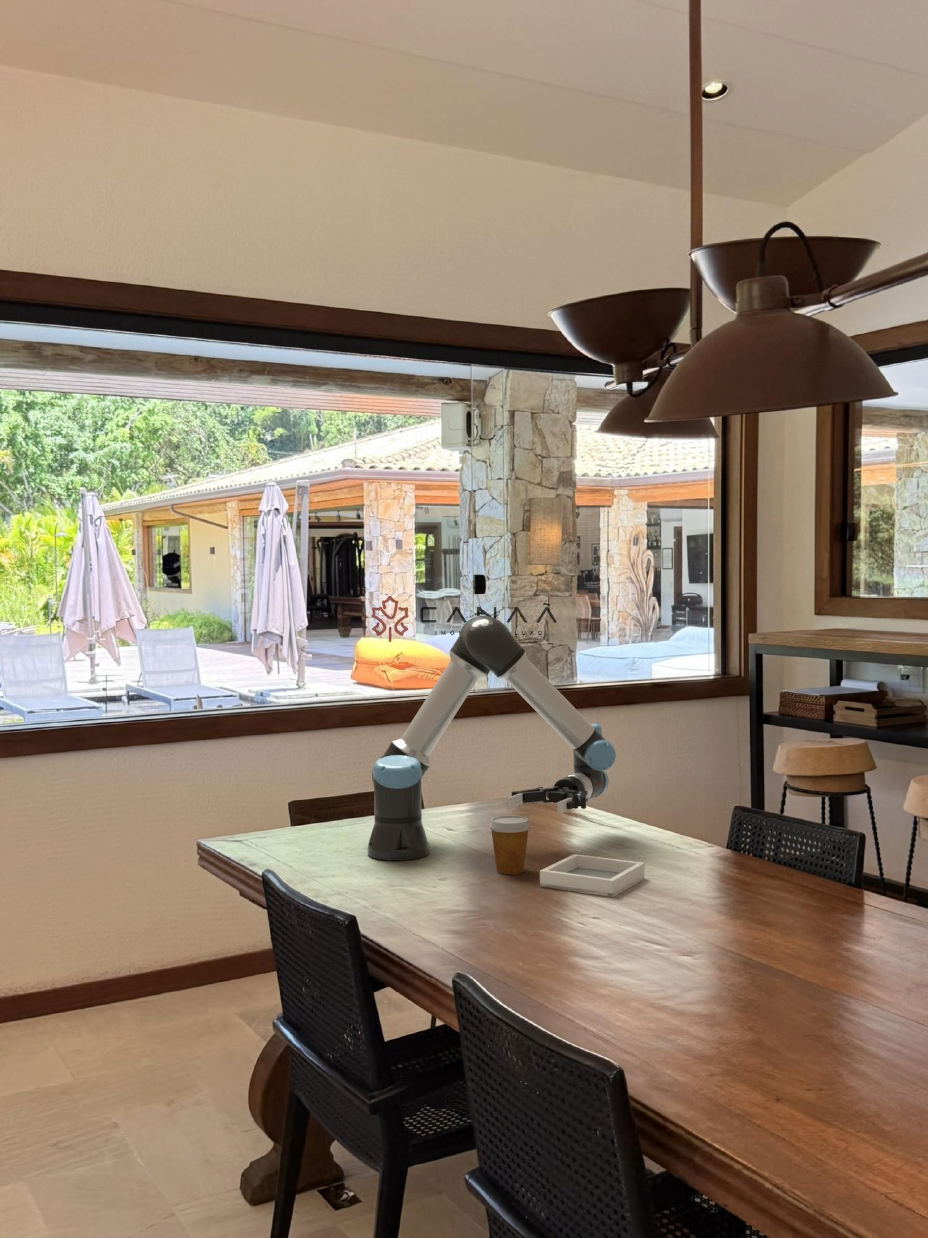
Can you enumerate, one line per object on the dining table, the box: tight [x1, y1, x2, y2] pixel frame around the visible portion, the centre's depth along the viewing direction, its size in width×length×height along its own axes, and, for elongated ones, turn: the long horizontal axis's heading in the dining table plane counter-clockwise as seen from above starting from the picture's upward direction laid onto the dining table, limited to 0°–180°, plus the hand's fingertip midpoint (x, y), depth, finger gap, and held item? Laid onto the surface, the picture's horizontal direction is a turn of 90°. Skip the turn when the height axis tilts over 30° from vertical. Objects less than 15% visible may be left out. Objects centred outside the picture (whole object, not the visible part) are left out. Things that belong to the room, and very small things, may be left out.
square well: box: [539, 853, 646, 898], centre depth 257 cm, size 17×17×4 cm
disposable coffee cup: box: [488, 815, 531, 875], centre depth 268 cm, size 10×10×12 cm
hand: (533, 806), depth 277 cm, fingers open, 13 cm apart
